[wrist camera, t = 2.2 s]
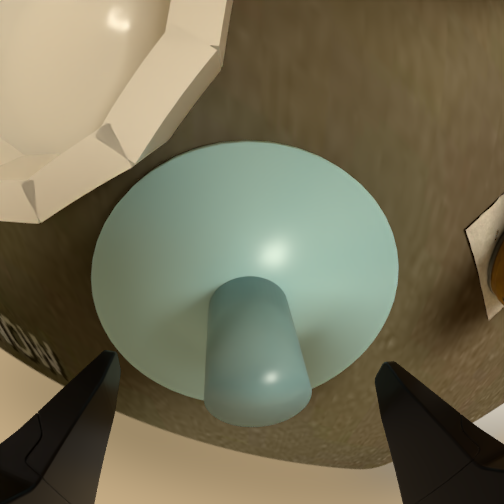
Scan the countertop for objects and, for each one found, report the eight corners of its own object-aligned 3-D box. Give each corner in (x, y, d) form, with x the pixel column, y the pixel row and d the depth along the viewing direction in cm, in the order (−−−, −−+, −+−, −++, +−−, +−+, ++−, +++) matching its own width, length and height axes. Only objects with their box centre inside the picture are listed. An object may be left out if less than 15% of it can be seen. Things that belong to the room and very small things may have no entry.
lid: (425, 172, 11) (515, 223, 7) (342, 391, 17) (366, 465, 12) (90, 130, 10) (2, 162, 5) (116, 381, 15) (96, 461, 11)
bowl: (252, -91, 6) (263, -154, 2) (208, 186, 12) (198, 236, 8) (-2, -49, 5) (-55, -69, 1) (-31, 179, 10) (-93, 215, 6)
